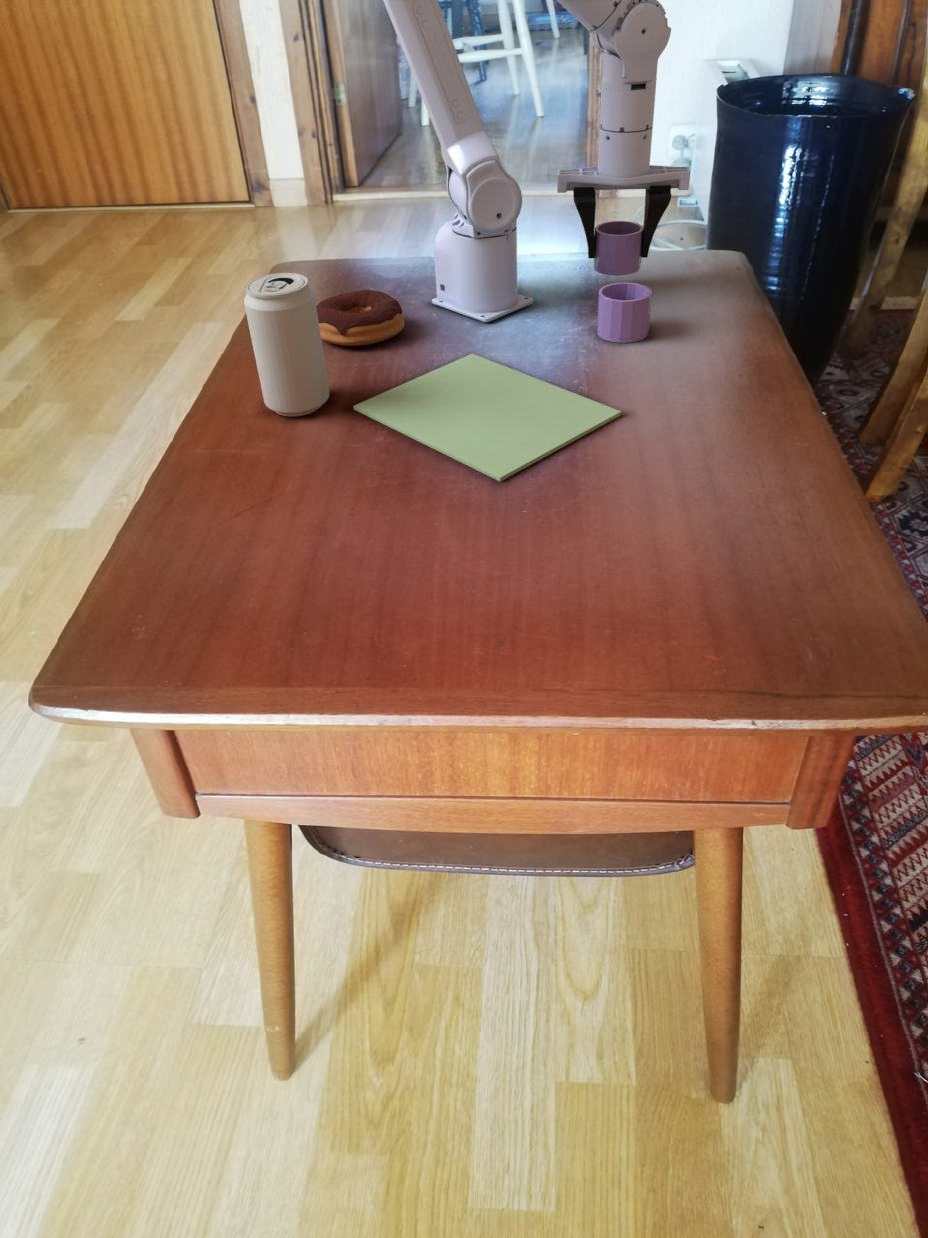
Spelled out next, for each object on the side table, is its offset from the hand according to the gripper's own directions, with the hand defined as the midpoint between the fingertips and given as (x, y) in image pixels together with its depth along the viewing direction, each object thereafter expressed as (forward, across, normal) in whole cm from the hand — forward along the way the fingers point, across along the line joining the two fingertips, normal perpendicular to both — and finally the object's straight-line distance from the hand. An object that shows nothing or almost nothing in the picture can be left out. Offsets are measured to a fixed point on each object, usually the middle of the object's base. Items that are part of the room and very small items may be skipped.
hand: (617, 255), depth 108 cm
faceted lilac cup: (+4, 0, +13) cm, 14 cm away
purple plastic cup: (+1, 0, 0) cm, 1 cm away
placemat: (+4, +14, +32) cm, 35 cm away
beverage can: (+4, +32, +30) cm, 44 cm away
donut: (+4, +29, +13) cm, 32 cm away
